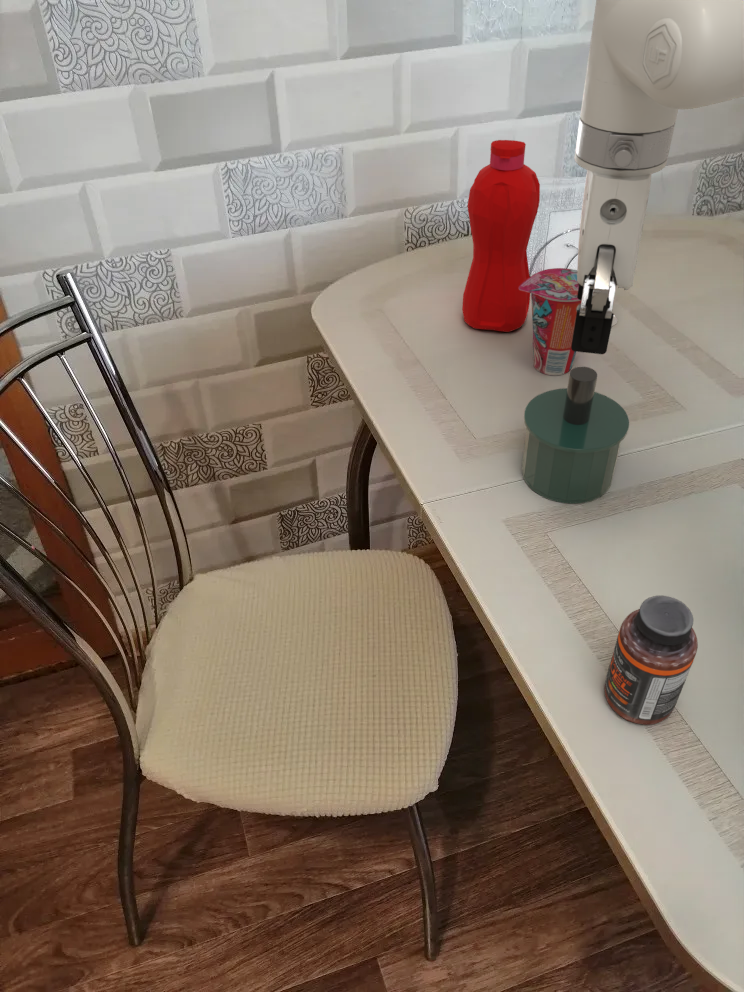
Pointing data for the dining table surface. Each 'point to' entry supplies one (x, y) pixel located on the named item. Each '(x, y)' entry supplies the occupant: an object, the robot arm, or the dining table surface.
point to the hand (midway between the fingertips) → (590, 324)
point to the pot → (567, 471)
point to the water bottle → (500, 239)
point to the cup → (553, 318)
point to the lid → (577, 416)
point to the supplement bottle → (651, 660)
